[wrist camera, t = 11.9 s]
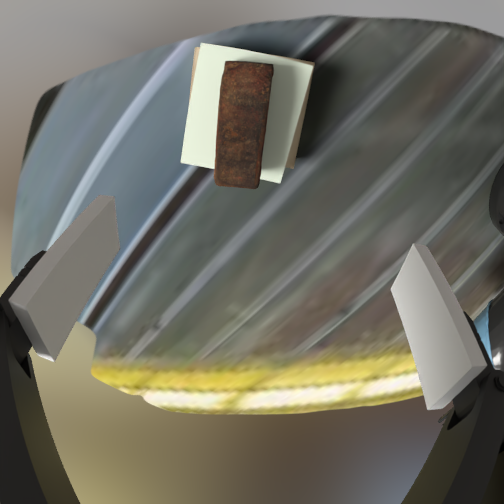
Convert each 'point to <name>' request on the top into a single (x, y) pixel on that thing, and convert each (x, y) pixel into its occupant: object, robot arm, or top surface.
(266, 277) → the top surface
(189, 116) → the top block
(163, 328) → the top surface
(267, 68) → the brick
